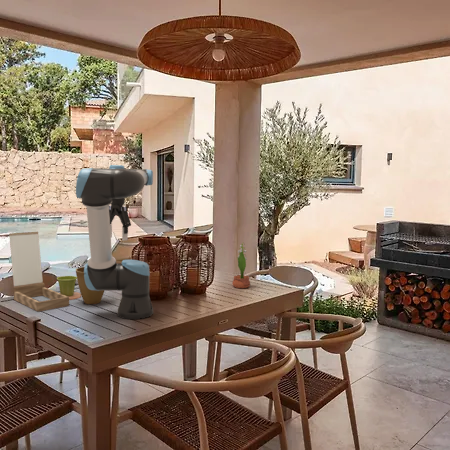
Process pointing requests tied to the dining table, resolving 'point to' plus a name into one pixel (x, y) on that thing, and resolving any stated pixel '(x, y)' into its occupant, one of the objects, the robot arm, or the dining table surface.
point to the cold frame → (28, 291)
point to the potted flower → (241, 271)
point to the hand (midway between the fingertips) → (116, 239)
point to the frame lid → (25, 258)
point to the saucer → (75, 296)
